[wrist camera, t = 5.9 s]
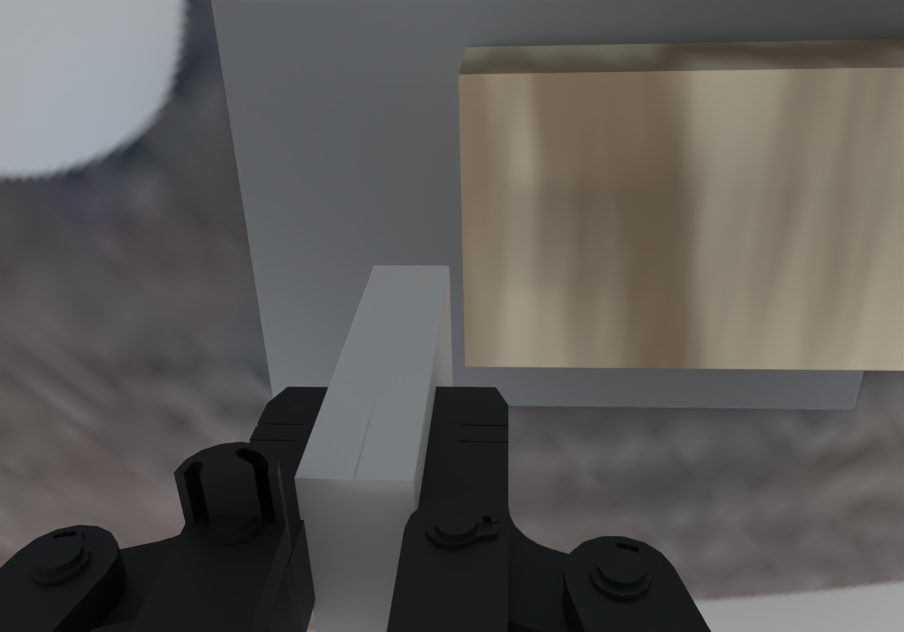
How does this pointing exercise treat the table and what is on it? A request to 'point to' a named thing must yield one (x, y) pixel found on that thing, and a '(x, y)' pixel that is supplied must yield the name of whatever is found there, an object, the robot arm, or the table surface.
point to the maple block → (684, 205)
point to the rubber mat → (447, 167)
